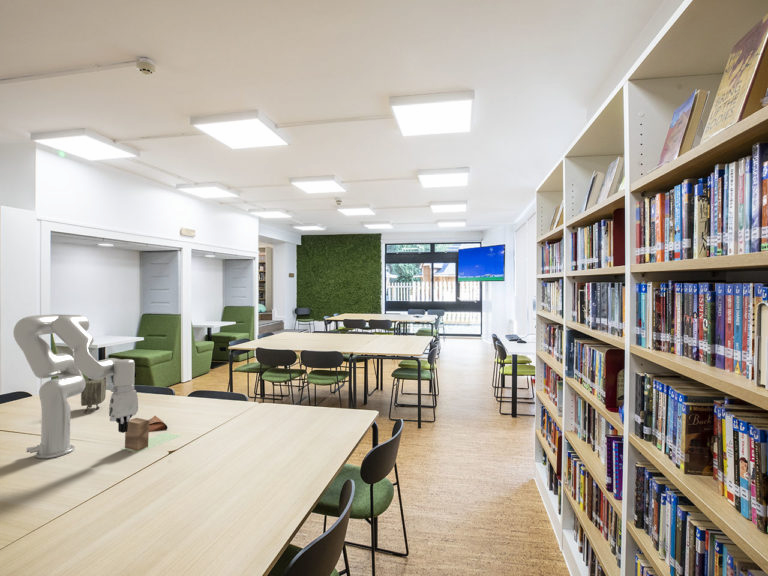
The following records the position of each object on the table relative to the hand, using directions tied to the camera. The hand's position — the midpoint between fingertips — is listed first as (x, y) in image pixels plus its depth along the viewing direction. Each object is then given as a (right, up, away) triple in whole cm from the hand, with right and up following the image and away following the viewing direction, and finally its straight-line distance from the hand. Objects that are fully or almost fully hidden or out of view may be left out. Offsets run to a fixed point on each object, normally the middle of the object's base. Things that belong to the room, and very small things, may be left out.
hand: (122, 431), depth 167 cm
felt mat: (+5, -10, +13) cm, 17 cm away
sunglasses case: (-7, -11, +33) cm, 36 cm away
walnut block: (+2, -9, +6) cm, 11 cm away
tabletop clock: (-58, -10, +61) cm, 84 cm away
